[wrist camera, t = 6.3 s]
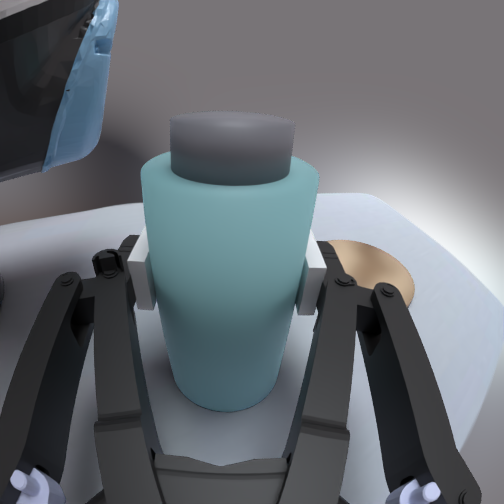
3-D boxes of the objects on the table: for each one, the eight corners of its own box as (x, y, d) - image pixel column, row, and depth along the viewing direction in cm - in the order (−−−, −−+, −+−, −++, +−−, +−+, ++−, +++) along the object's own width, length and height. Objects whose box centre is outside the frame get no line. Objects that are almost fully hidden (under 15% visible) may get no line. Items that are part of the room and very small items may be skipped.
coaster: (290, 301, 23) (291, 295, 23) (310, 235, 32) (311, 231, 32) (418, 329, 21) (421, 324, 20) (405, 258, 29) (407, 253, 29)
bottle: (154, 387, 16) (97, 130, 8) (199, 316, 21) (194, 106, 13) (260, 426, 14) (316, 149, 6) (288, 342, 19) (331, 121, 12)
